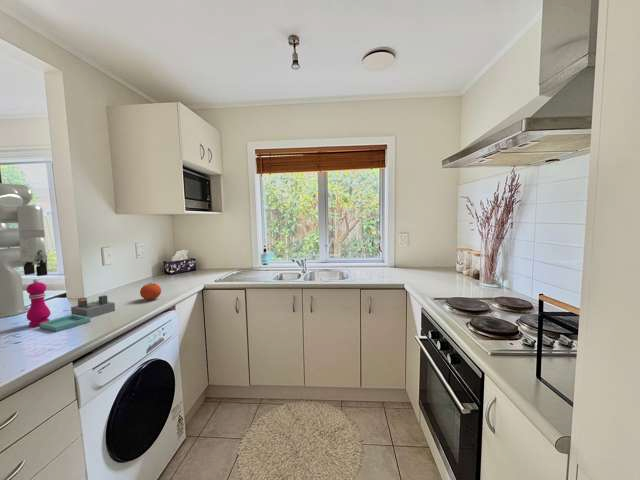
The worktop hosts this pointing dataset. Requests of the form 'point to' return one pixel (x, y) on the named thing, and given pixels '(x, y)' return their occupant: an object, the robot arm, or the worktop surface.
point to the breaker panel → (93, 309)
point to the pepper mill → (37, 304)
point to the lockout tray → (64, 323)
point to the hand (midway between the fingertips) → (35, 274)
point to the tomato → (150, 291)
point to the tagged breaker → (82, 302)
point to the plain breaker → (103, 299)
